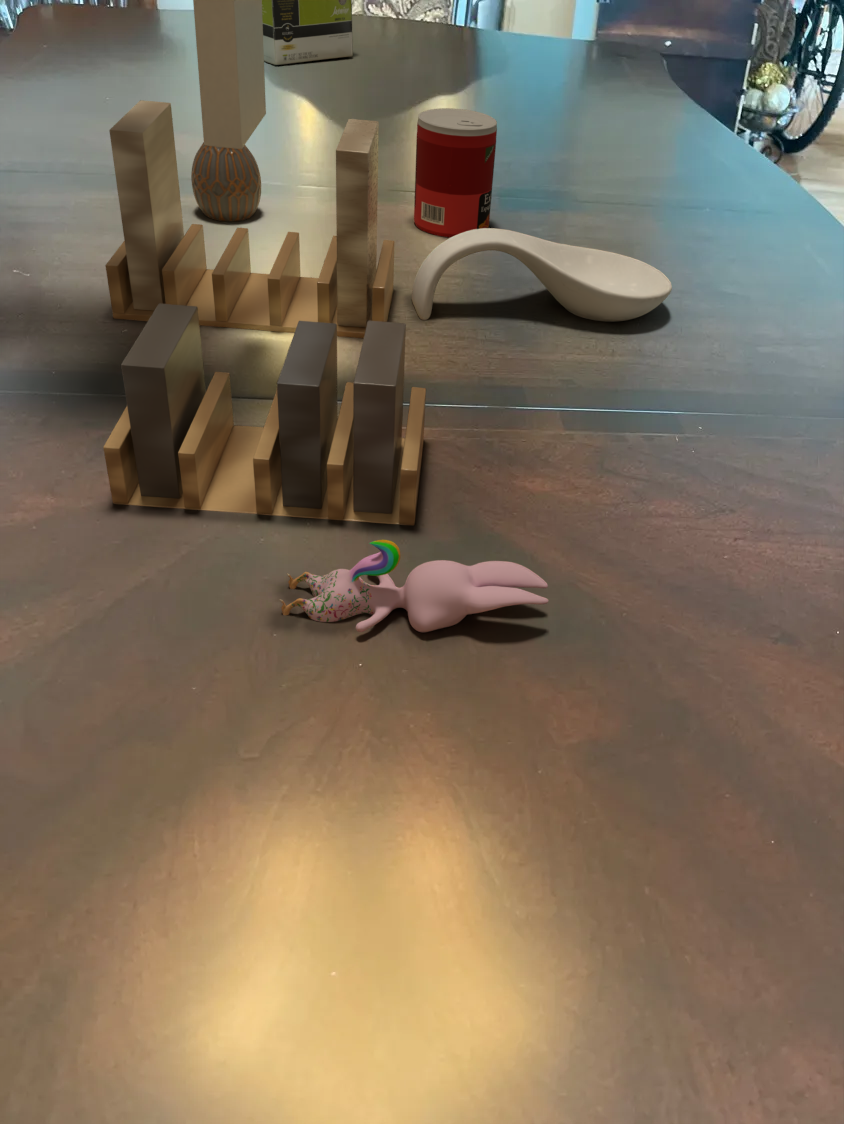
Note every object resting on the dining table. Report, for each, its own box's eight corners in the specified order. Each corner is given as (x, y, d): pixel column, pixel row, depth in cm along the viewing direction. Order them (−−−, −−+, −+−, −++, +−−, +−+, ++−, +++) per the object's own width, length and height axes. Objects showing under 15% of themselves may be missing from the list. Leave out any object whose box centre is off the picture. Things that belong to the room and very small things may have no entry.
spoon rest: (639, 285, 104) (652, 211, 99) (684, 336, 95) (701, 257, 90) (402, 290, 98) (405, 211, 93) (428, 344, 89) (432, 260, 85)
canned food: (494, 244, 109) (504, 130, 102) (417, 242, 108) (422, 127, 101) (482, 218, 115) (490, 109, 108) (409, 216, 114) (413, 106, 107)
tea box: (317, 45, 174) (314, -62, 164) (354, 58, 168) (354, -51, 159) (238, 52, 165) (231, -59, 156) (275, 67, 160) (270, -48, 151)
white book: (203, 145, 69) (184, -115, 60) (231, 110, 76) (217, -128, 67) (242, 149, 69) (228, -110, 60) (266, 114, 76) (257, -124, 67)
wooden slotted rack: (114, 324, 88) (84, 131, 78) (147, 274, 96) (124, 95, 86) (383, 345, 89) (387, 157, 79) (393, 294, 97) (397, 119, 87)
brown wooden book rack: (114, 516, 67) (89, 370, 60) (157, 431, 75) (139, 295, 69) (413, 537, 67) (420, 395, 61) (422, 451, 76) (429, 318, 69)
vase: (274, 224, 108) (270, 133, 103) (211, 233, 105) (203, 140, 100) (245, 203, 113) (240, 115, 107) (184, 211, 109) (175, 120, 104)
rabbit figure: (284, 665, 59) (551, 651, 58) (261, 580, 55) (546, 564, 54) (301, 597, 64) (547, 584, 63) (281, 515, 60) (543, 499, 59)
